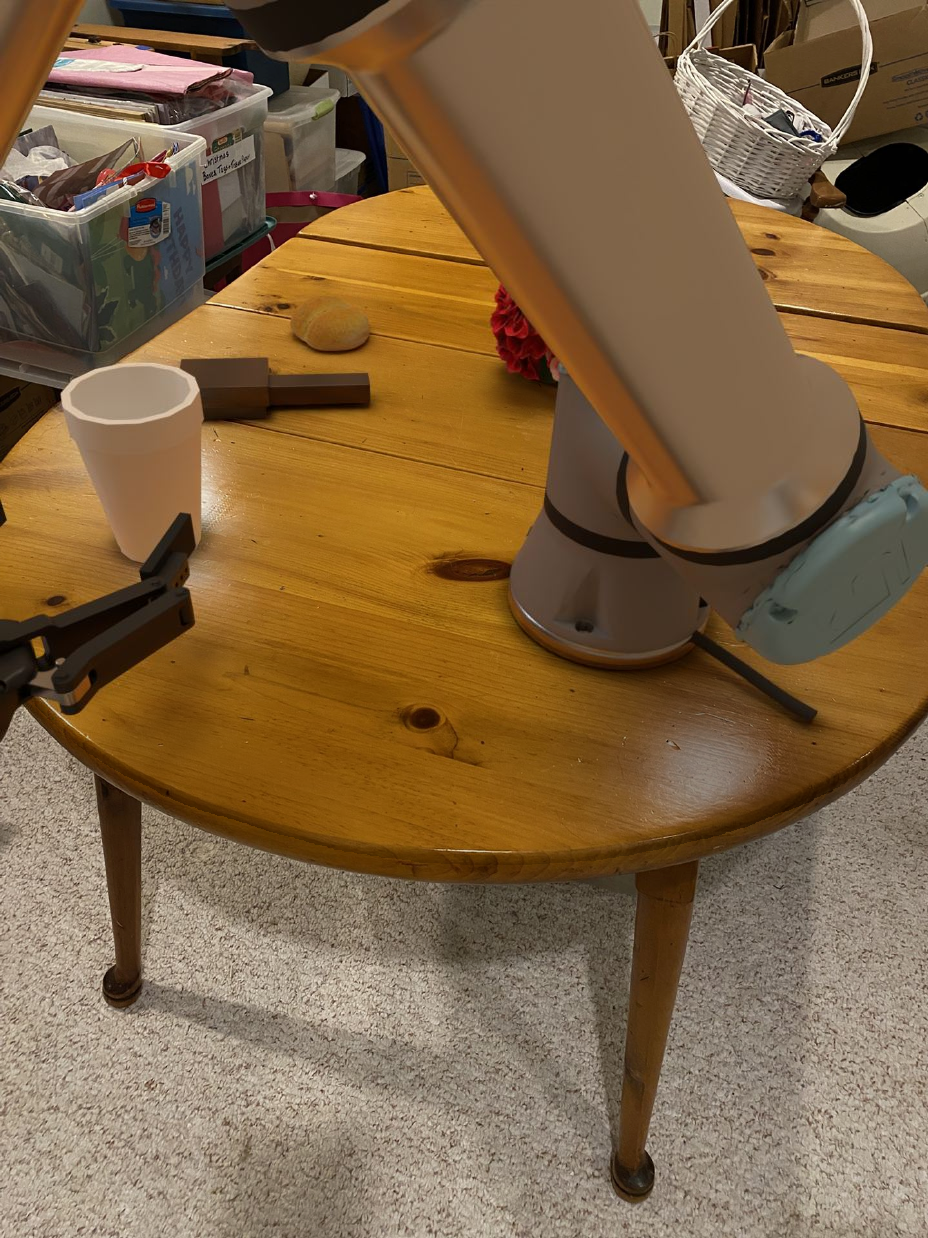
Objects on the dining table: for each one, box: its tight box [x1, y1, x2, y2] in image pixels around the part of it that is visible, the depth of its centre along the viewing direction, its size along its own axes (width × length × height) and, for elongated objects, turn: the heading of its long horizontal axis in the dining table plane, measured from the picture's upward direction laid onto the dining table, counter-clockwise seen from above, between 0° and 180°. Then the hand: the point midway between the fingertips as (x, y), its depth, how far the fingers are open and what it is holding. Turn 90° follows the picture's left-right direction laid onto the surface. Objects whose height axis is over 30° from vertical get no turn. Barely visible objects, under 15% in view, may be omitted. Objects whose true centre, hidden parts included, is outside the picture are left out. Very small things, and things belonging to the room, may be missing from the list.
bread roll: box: [289, 295, 371, 352], centre depth 103 cm, size 8×9×4 cm
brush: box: [179, 356, 371, 421], centre depth 91 cm, size 18×6×4 cm, turn 99°
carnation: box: [489, 282, 560, 384], centre depth 102 cm, size 16×18×35 cm
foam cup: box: [60, 362, 205, 564], centre depth 70 cm, size 10×9×13 cm
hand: (91, 515), depth 63 cm, fingers open, 13 cm apart
